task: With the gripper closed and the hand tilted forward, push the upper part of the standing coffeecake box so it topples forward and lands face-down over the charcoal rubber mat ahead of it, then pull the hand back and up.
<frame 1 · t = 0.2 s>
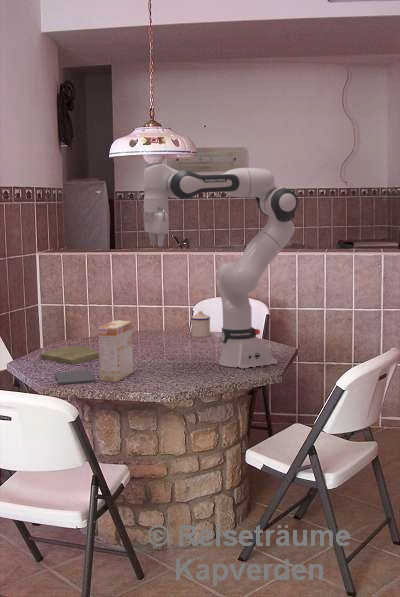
hand: (156, 245, 273), 47 cm above the table, tool pointing down, fingers open, 8 cm apart
mat: (74, 378, 267), on the table
coffeecake box: (116, 377, 269), on the table
teacup with lid: (197, 336, 348), on the table
decorative tile: (73, 359, 302), on the table
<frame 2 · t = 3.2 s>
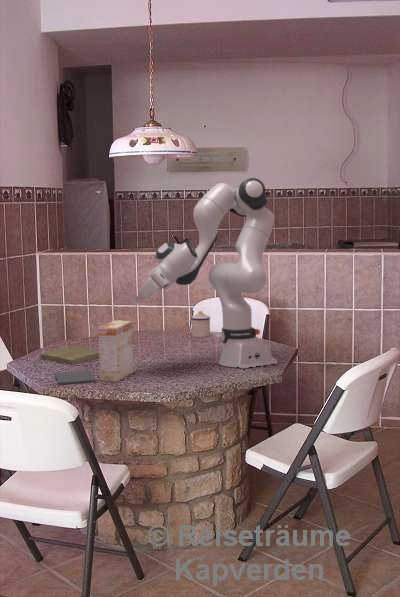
hand: (133, 303, 272), 26 cm above the table, tool tilted 50°, fingers closed
nothing on the table moved.
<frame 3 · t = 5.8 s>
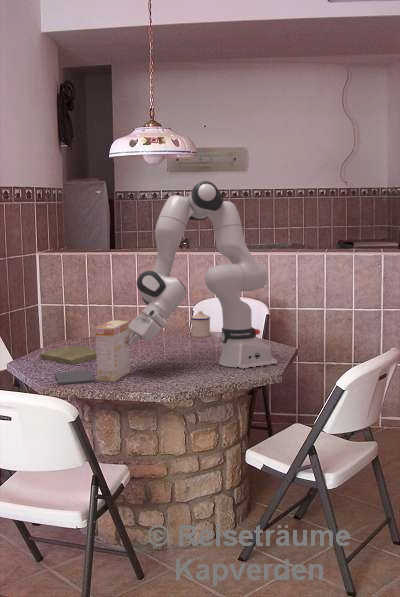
hand: (128, 344, 270), 11 cm above the table, tool tilted 45°, fingers closed
coffeecake box: (114, 377, 269), on the table, touching gripper
everything else where it was.
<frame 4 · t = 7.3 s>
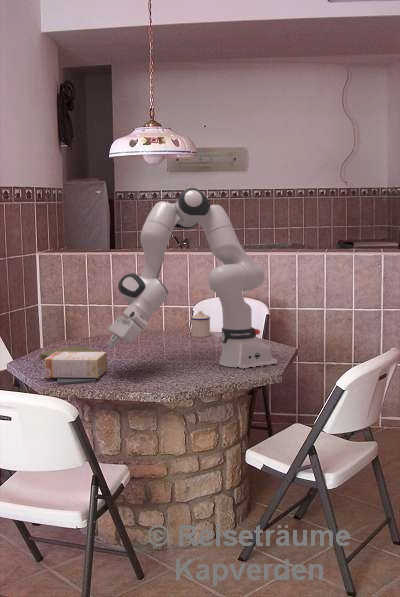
hand: (109, 346, 267), 11 cm above the table, tool tilted 45°, fingers closed
coffeecake box: (103, 364, 269), point 4 cm above the table, touching mat
everything else where it was.
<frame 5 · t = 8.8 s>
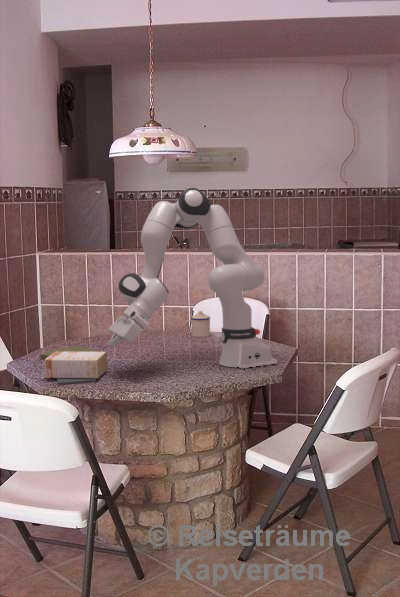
hand: (109, 346, 266), 12 cm above the table, tool tilted 45°, fingers closed
nothing on the table moved.
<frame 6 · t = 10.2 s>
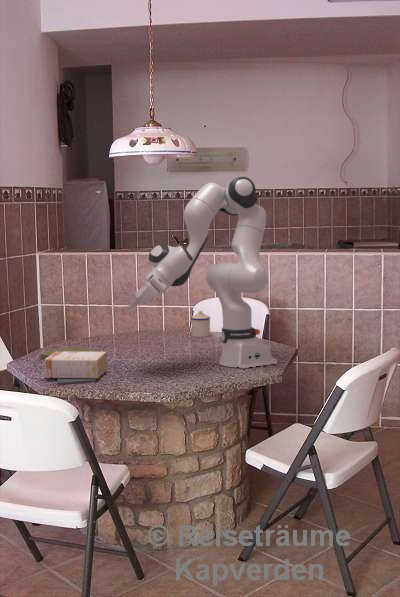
hand: (129, 308, 271), 24 cm above the table, tool tilted 50°, fingers closed
nothing on the table moved.
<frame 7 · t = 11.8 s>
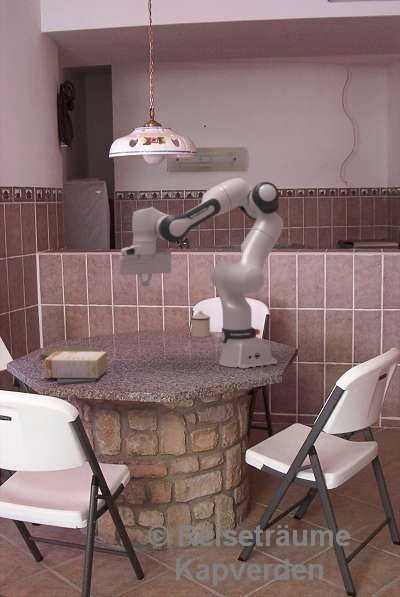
hand: (145, 285, 282), 31 cm above the table, tool pointing down, fingers closed
nothing on the table moved.
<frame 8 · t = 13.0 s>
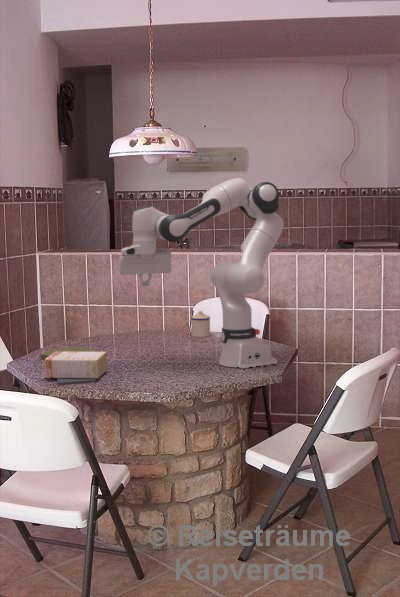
hand: (145, 285, 282), 31 cm above the table, tool pointing down, fingers closed
nothing on the table moved.
at the end: coffeecake box tilted 90°; coffeecake box inside the target area (12.4 cm from its centre), point 4.3 cm above the table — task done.
